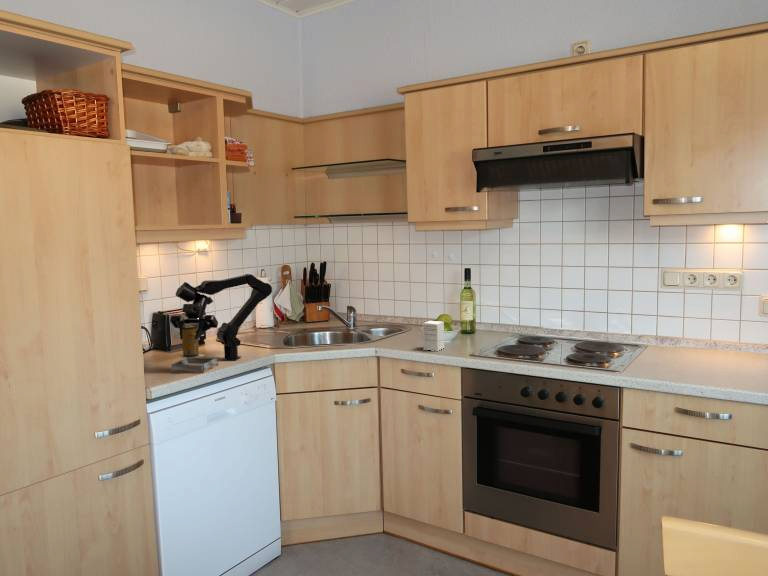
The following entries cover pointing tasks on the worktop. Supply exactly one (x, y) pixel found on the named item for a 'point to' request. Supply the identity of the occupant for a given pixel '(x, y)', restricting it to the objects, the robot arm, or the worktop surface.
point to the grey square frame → (194, 365)
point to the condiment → (190, 342)
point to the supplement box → (433, 335)
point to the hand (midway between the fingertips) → (188, 338)
